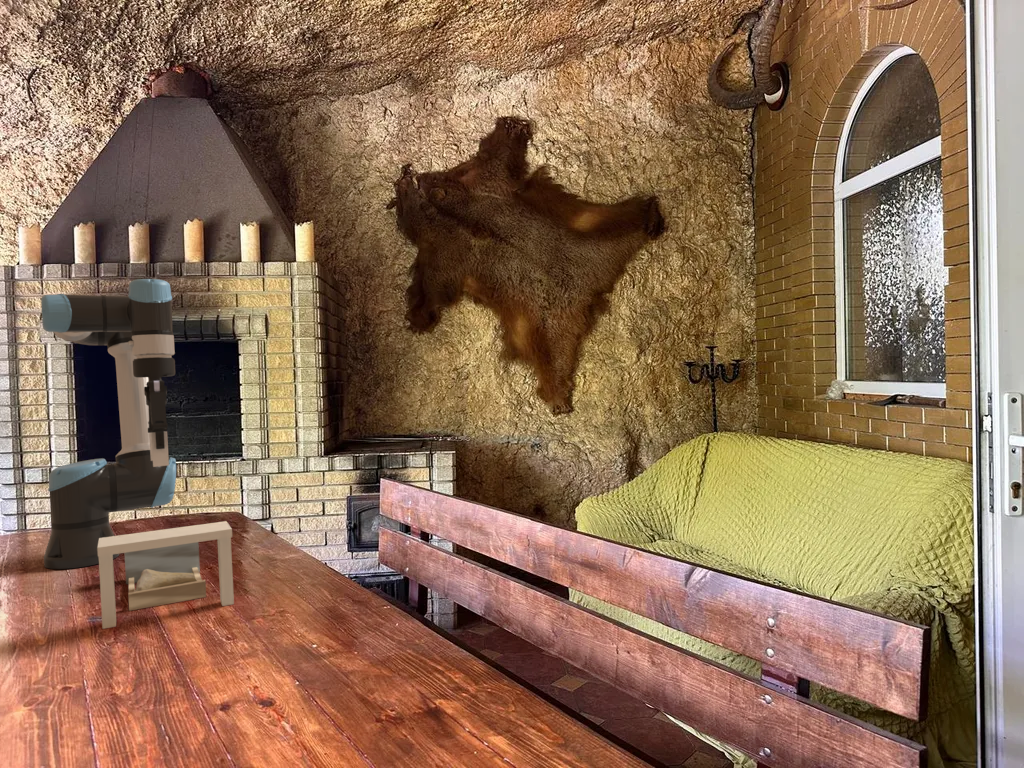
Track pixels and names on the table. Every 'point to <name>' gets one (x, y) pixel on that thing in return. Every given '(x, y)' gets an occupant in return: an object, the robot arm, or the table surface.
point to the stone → (162, 579)
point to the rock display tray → (164, 561)
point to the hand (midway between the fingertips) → (159, 463)
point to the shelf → (158, 540)
